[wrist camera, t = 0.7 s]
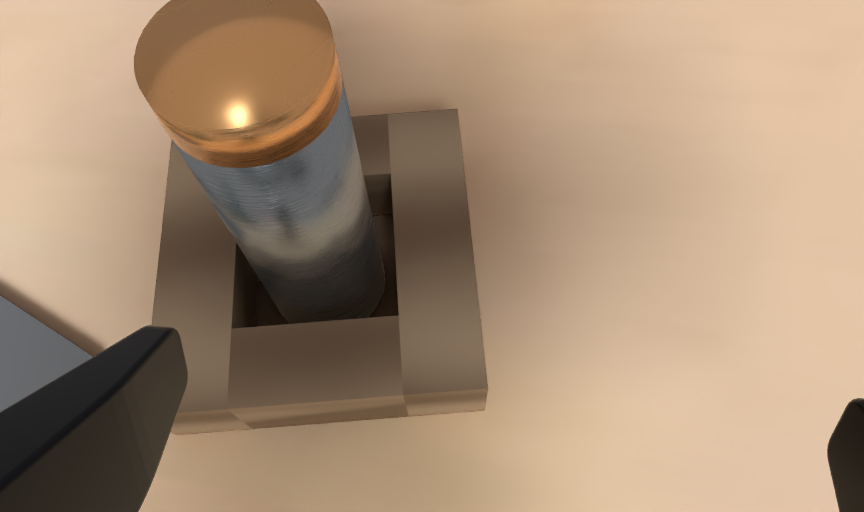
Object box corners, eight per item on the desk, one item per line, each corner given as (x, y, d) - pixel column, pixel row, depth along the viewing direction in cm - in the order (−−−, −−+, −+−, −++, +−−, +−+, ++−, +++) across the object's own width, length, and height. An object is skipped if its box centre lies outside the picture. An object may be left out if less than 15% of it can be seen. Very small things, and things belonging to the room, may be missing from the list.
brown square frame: (484, 410, 25) (488, 388, 22) (175, 434, 25) (141, 415, 22) (457, 152, 30) (457, 108, 27) (198, 172, 30) (172, 130, 27)
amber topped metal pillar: (344, 355, 26) (252, 161, 14) (250, 300, 27) (92, 77, 15) (406, 262, 27) (370, 18, 16) (315, 213, 28) (217, -49, 17)
